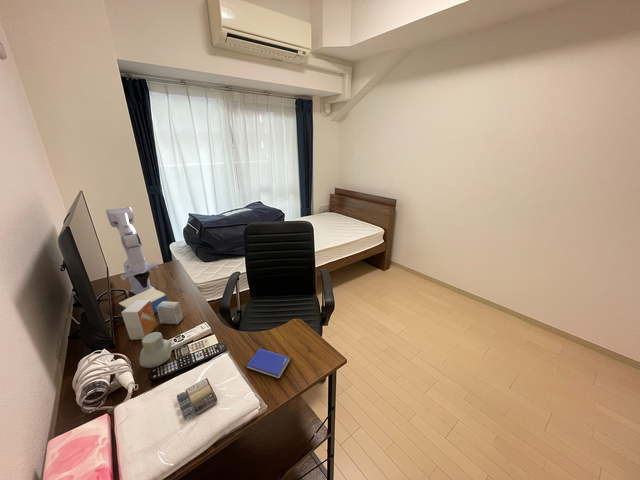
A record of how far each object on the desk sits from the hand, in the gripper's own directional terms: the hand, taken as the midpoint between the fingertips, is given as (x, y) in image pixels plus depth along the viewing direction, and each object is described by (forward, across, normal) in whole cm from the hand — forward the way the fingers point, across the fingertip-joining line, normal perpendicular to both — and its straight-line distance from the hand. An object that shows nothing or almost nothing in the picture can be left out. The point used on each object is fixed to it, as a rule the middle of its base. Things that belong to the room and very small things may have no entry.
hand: (144, 286), depth 117 cm
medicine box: (+10, -1, -20) cm, 23 cm away
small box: (+10, -11, -17) cm, 23 cm away
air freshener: (+10, -16, -36) cm, 41 cm away
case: (+10, -2, -2) cm, 11 cm away
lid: (+4, -3, -2) cm, 6 cm away
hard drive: (+10, +2, -72) cm, 73 cm away
